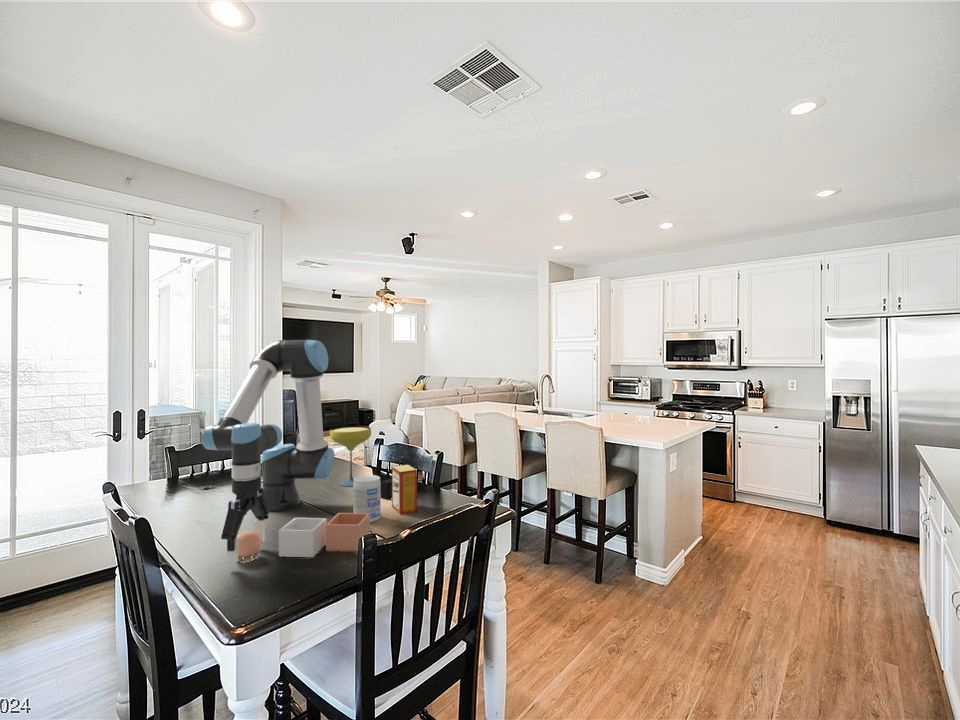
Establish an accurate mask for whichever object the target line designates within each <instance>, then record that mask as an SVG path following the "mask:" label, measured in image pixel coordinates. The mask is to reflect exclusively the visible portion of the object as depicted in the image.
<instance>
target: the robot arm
mask: <svg viewBox="0 0 960 720" xmlns="http://www.w3.org/2000/svg"><path fill="white" fill-rule="evenodd" d="M251 360H252V361H251V362H250V364H249V371H248V373H247V374H246V376H245V377H244V380H243V382H242V383H241V385H240V386H239V388H238V389H237V391H236V393H235V395H234V396H233V398H232V400H231V401H230V403H229V404H228V406H227V408H226V410H225V411H224V413H223V414H222V416H221V418H220V419H219V421H218V422H217V424H213V425H208V426H207V427H205V428H204V429H203V431H202V434H201V438H200V439H201V445H202V446H203V447H204V449H206V450H211V451H212V450H213V451H231V478H232V480H231V493H232V494H234V495H235V497H236V498H235V500H229V501H228V503H227V504H228V505H227V512H226V513H227V514H226V517H225V521H224V523H223V524H224V525H223V528H222V533H221V535H220V537H221V538H220V539H221V540H226V551H227V553H226V554H227V555H226V557H227V562H228V563H236V562H238V561H239V542H238V533H239V531H240V529H241V525H242V522H243V520H244V517H245V516H246V515H247V513H248V512H249V511H250V512H251V513H252V514H253V516H254V517H255V518H256V519H254V532H255V533H257V534H258V535H259V537H260V540H261V543H264V542H265V540H266V539H265V532H266V530H265V523H266V522H265V520H268V519H269V514H270V512H278V511H285V510H289V509H294V508H295V507H297V506H299V505H300V503H301V497H300V493H299V490H298V488H297V485H296V480H315V481H316V480H324V479H326V478H328V477H329V475H330V474H331V473H332V469H333V467H334V464H335V451H334V449H333V448H330V447H329V443H328V441H327V440H326V439H324V429H323V428H324V427H323V414H322V413H323V411H322V410H323V409H322V398H321V382H320V380H321V378H322V377H323V376H324V372H325V371H327V370H328V367H329V355H328V351H327V349H326V345H324V343H323V342H321V341H320V340H314V339H313V340H312V339H294V340H293V339H291V340H290V339H289V340H287V339H282V340H277V341H276V340H275V341H273V342H272V343H269V344H268V345H265V347H263V348H262V349H261V350H260V351H259V352H258V353H257V354H256V355H255V356H254V358H252V359H251ZM281 372H290V378H291V379H293V380H294V382H295V391H296V392H295V395H296V405H297V406H296V407H297V408H296V409H297V419H298V421H297V422H298V434H299V442H298V444H297V445H295V444H294V443H285V444H280V443H281V442H282V440H283V431H282V429H281V428H280V426H278V425H276V424H274V423H268V424H267V423H265V424H264V425H260V424H259V423H257V422H256V423H255V422H249V420H250V419H251V416H252V415H253V413H254V411H255V409H256V407H257V406H258V404H259V402H260V399H261V398H262V396H263V394H264V393H265V391H266V389H267V388H268V386H269V384H270V382H271V380H273V379H275V378H276V377H277V374H278V373H281ZM279 444H280V445H279ZM261 474H262V477H261Z"/></svg>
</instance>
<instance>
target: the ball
mask: <svg viewBox="0 0 960 720" xmlns="http://www.w3.org/2000/svg"><path fill="white" fill-rule="evenodd" d="M237 537H238V542H239V556H241V557H248V556H252V555H253V554H255V553H256V552H257V551H258V552H259V550H260V547H261V543H262V542H261V540H260V537H259V535H258V534H257V533H255V531H252V530H247V531H244V532H241V533H240V534H239V535H237Z"/></svg>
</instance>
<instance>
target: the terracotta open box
mask: <svg viewBox="0 0 960 720" xmlns="http://www.w3.org/2000/svg"><path fill="white" fill-rule="evenodd" d="M370 523H371V522H370V513H353V512H338V513H336V514H335V515H334V516H333V517H332V518H331V520H329V521H327V524H326V546H325V551H326V552H337V551H340V553H341V552H342V553H347V552H349V553H358V552H357V548H358V542H359V539H360V538H361V537H362V536H364V535H366V534H371V526H370V525H371V524H370Z"/></svg>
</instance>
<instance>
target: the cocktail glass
mask: <svg viewBox="0 0 960 720" xmlns="http://www.w3.org/2000/svg"><path fill="white" fill-rule="evenodd" d="M371 435H372V428H371V427H370V426H367V425H345V426H336V427H333V428H330V430H329V437H330V439H331V440H332V441H334V442H335V443H337V444H338V445H341V446H343V447H345V448H346V449H347V450H348V452H349V453H350V456H349V457H350V464H349V465H350V466H349V467H350V468H349V469H350V470H349V479H346V480H342V481H340V482H339V483H338V485H339V486H340V487H344V486H347V487H346V488H349V487H350V486H353V483H354V478H353V460H352V459H353V458H352V457H353V454H352V453H353V451H354V450H355V448H356V447H357V446H359V445H361V444H362V443H364V442H366V441H367V440H368V439H370V438H371ZM350 488H351V487H350Z"/></svg>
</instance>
